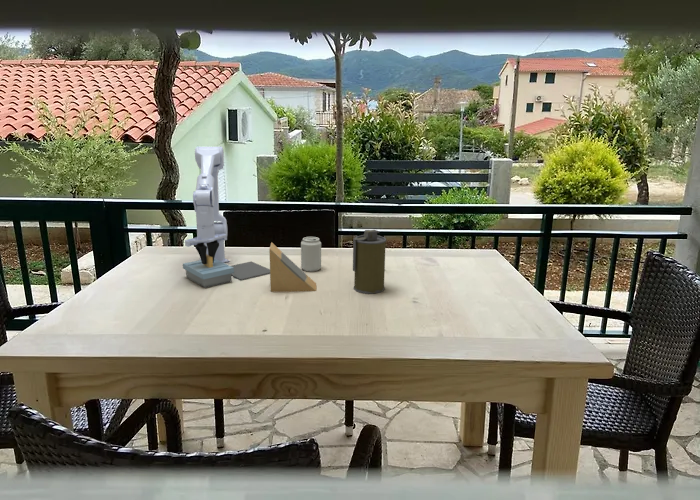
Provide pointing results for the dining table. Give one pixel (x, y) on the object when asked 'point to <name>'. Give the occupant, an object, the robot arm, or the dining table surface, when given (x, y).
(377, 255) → the canister
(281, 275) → the sandwich container
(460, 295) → the dining table surface
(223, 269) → the lid
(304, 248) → the can
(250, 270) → the mat
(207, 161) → the robot arm
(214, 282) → the parts tub
